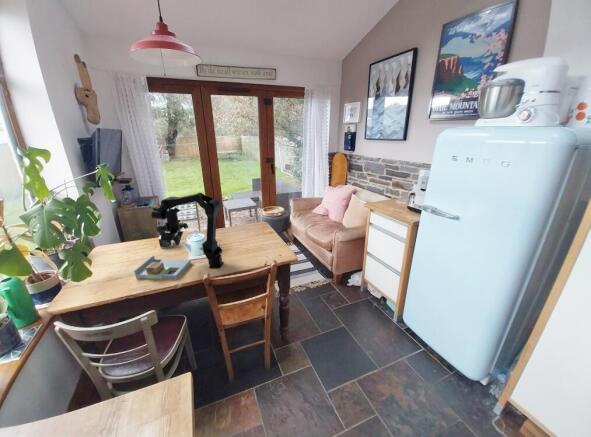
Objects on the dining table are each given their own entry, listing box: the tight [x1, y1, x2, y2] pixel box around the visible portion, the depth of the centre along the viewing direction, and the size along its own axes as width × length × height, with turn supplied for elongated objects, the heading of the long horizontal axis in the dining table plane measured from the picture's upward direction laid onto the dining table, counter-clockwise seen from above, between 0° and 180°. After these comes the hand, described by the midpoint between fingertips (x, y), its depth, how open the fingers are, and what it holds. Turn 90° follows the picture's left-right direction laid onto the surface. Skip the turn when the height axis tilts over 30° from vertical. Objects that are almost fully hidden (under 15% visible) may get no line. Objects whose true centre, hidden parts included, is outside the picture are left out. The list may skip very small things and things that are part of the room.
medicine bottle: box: [158, 231, 175, 249], centre depth 164 cm, size 7×7×12 cm
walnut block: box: [146, 262, 165, 275], centre depth 131 cm, size 6×6×4 cm
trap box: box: [133, 254, 192, 280], centre depth 136 cm, size 23×16×5 cm
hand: (177, 244), depth 140 cm, fingers closed
